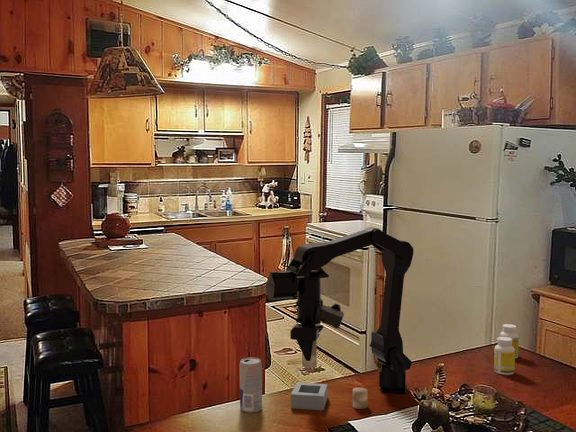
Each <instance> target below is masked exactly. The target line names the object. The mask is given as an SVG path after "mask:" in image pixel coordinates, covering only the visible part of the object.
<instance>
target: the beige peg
mask: <svg viewBox="0 0 576 432" xmlns="http://www.w3.org/2000/svg"><path fill="white" fill-rule="evenodd" d="M317 345H318V343H317V340H315V341H314V343H313V349H312V355H311V360H310V361H306V359H305V357H304V355H303V353H302V352H301V353H302V354H301V364H302V367H303V368H309V369H310V368H312V369H313V368H316V367H317V364H318V361H317V358H318V355H317V353H318V352H317Z"/></svg>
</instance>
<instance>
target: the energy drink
mask: <svg viewBox="0 0 576 432" xmlns="http://www.w3.org/2000/svg"><path fill="white" fill-rule="evenodd" d="M262 365H263V364H262V361H261V359H260V358H258V357H253V356H252V357H244V358H242V359H240V362H239V367H238V368H239V409H240V411H242V412H244V413H246V414H252V413H253V414H254V413H258V412H260V411H261V410H262V408H263V379H262V378H263V376H262V375H263V374H262V372H263V371H262V370H263V369H262Z"/></svg>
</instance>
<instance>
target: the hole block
mask: <svg viewBox="0 0 576 432" xmlns="http://www.w3.org/2000/svg"><path fill="white" fill-rule="evenodd" d="M327 397H328V384H327V383H315V382H296V383H295V385H294V387H293V389H292V391H291V393H290V408H291V409H295V410H297V409H299V410H310V411H324V410H325V407H326V404H327V400H328V398H327Z"/></svg>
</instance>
